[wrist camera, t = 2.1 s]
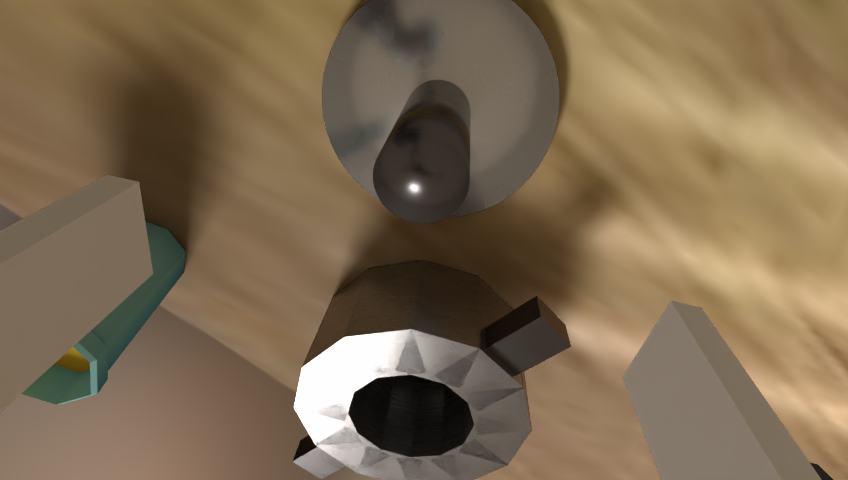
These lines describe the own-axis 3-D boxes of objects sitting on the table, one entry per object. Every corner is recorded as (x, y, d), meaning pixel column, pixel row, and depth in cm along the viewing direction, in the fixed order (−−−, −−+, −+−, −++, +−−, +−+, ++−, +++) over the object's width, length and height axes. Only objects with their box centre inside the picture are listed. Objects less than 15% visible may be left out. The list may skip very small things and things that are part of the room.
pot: (390, 443, 41) (376, 521, 35) (262, 352, 37) (221, 425, 31) (602, 330, 32) (632, 411, 26) (467, 189, 27) (466, 248, 21)
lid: (338, -52, 22) (244, -71, 13) (593, 8, 22) (677, 30, 13) (320, 184, 28) (249, 280, 19) (514, 228, 29) (534, 342, 20)
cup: (150, 141, 28) (-126, 281, 15) (251, 220, 30) (89, 400, 17) (72, 264, 34) (-173, 440, 21) (162, 322, 36) (-8, 512, 23)
